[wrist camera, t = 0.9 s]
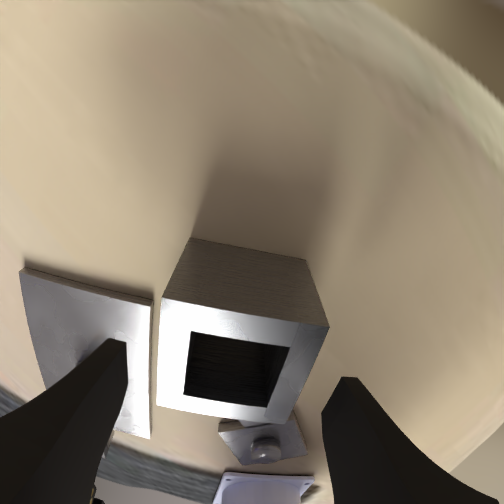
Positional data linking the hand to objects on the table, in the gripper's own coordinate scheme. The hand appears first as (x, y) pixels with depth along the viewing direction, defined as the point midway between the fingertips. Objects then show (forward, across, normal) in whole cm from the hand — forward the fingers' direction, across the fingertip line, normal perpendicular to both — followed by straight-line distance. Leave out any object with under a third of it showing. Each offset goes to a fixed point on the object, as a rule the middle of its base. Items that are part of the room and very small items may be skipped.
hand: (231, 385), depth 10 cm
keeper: (+6, +8, +7) cm, 12 cm away
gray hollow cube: (+6, 0, 0) cm, 6 cm away
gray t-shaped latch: (+6, -3, +9) cm, 11 cm away
